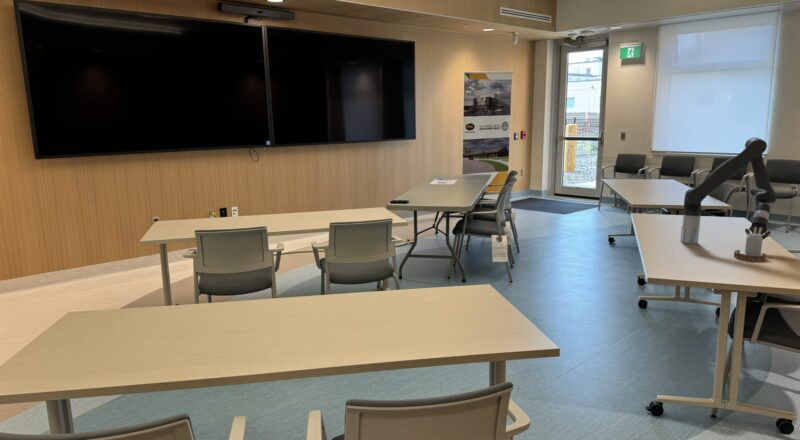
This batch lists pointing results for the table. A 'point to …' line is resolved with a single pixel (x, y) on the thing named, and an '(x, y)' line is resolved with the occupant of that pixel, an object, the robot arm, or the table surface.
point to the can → (753, 244)
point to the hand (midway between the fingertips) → (754, 244)
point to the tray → (749, 256)
